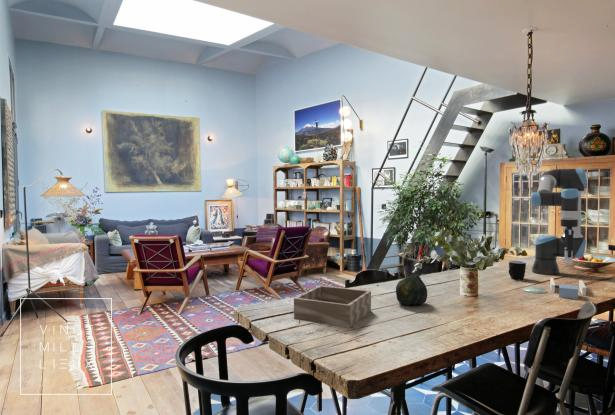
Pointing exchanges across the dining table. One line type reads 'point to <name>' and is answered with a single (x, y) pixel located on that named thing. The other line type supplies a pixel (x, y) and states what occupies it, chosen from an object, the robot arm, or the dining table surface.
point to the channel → (581, 287)
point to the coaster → (534, 290)
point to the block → (568, 291)
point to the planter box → (332, 306)
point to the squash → (411, 290)
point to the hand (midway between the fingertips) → (568, 261)
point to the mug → (517, 269)
